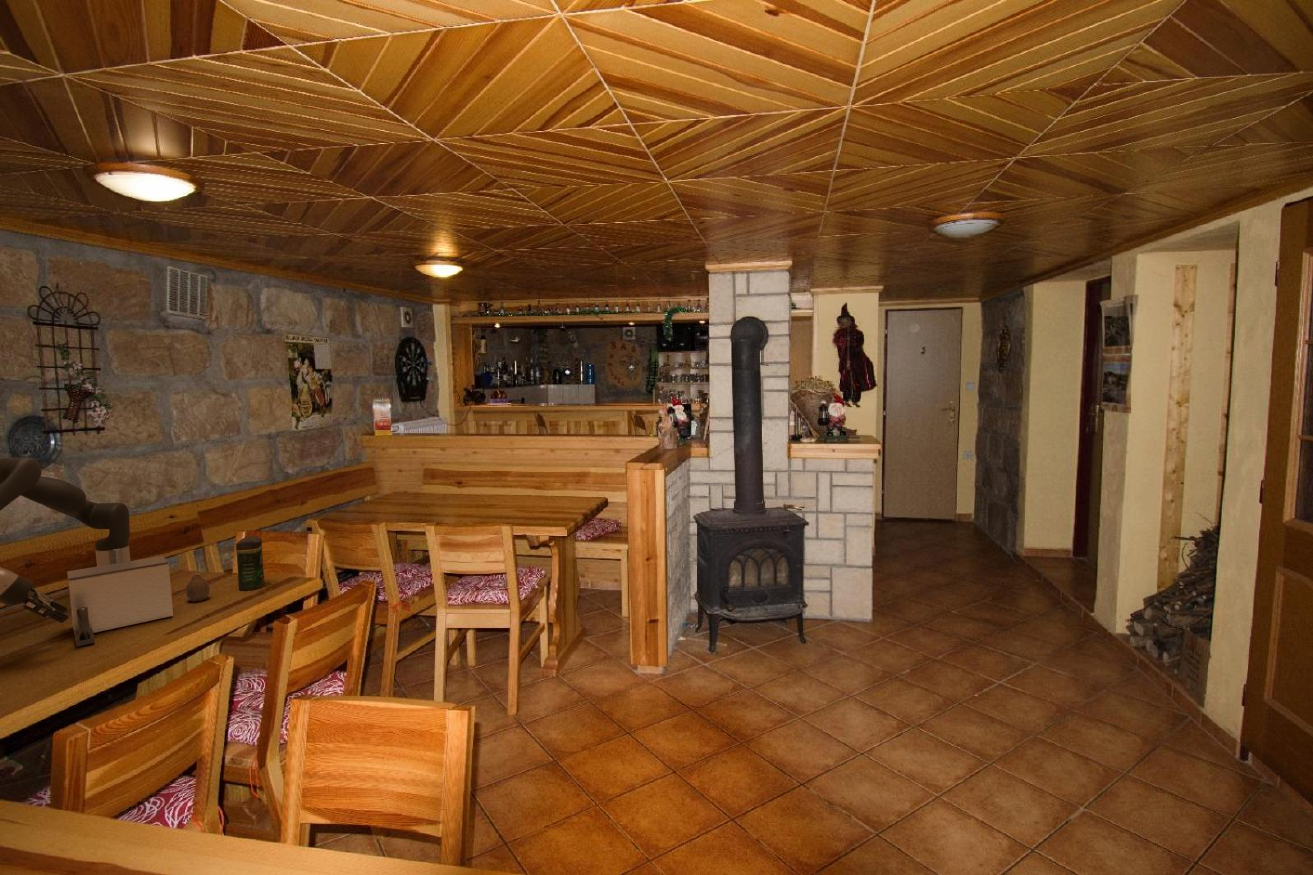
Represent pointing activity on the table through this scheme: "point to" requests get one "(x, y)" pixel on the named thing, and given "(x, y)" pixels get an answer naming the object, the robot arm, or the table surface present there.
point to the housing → (114, 569)
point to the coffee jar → (250, 563)
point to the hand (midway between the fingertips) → (65, 615)
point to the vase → (197, 589)
